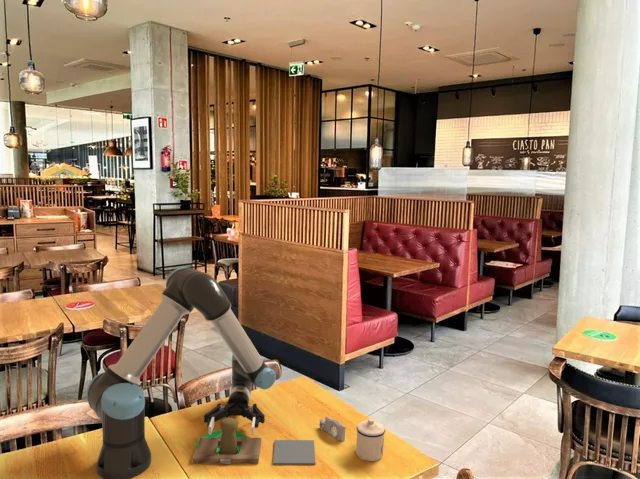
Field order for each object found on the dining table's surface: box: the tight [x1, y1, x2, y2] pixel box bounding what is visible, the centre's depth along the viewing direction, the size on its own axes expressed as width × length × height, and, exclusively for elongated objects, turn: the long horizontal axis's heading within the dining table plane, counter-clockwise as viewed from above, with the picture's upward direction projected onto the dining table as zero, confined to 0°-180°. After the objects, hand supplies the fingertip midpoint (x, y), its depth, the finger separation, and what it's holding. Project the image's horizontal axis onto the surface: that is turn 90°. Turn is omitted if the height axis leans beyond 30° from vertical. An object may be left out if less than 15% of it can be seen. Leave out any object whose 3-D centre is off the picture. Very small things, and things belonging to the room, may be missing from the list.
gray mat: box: [272, 439, 316, 466], centre depth 153 cm, size 13×13×1 cm
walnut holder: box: [192, 436, 262, 465], centre depth 152 cm, size 20×13×2 cm, turn 93°
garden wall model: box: [319, 416, 347, 442], centre depth 165 cm, size 12×2×6 cm, turn 42°
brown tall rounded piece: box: [218, 417, 239, 455], centre depth 152 cm, size 6×6×11 cm
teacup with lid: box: [355, 418, 386, 462], centre depth 155 cm, size 12×9×12 cm
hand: (231, 431), depth 153 cm, fingers open, 13 cm apart
